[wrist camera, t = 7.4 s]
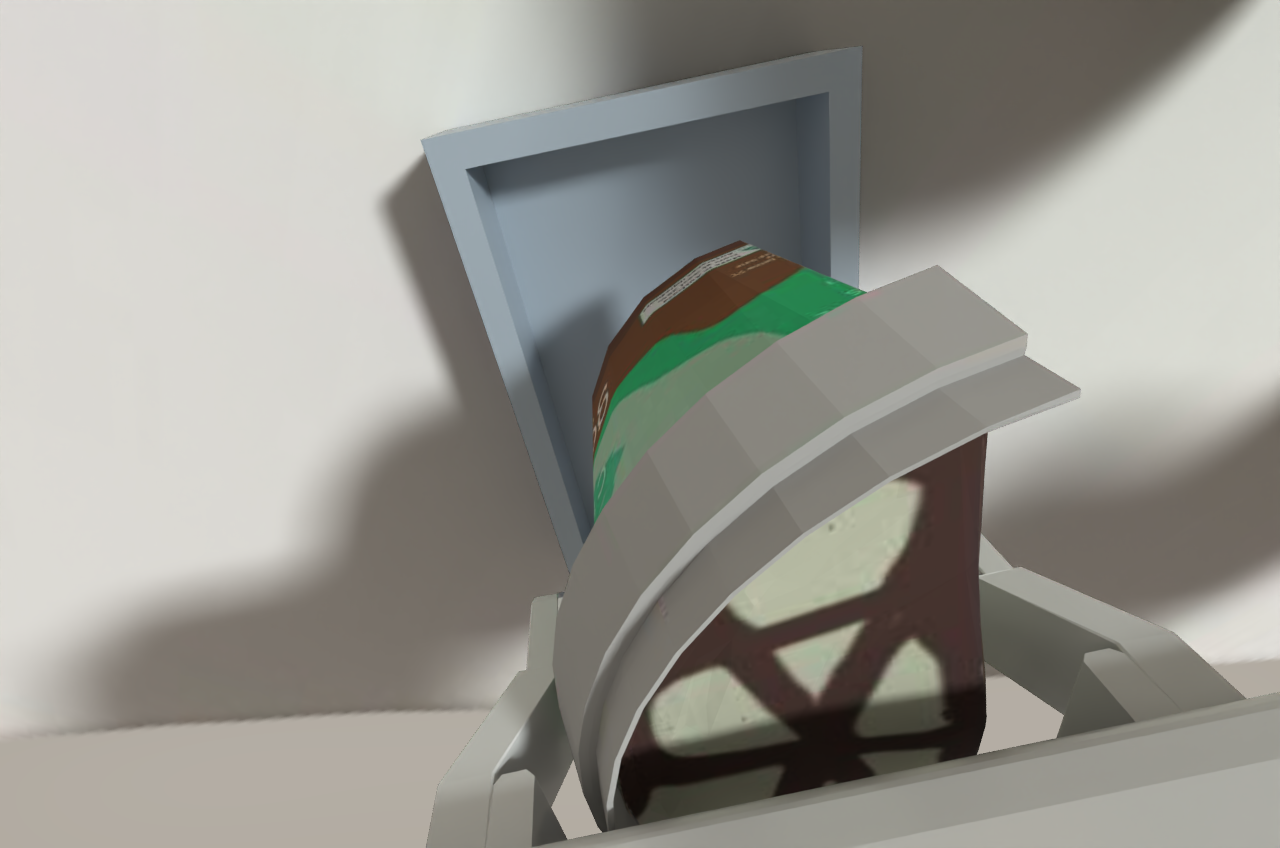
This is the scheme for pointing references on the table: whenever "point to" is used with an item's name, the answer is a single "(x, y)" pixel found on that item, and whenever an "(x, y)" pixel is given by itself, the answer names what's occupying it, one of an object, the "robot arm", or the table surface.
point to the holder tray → (638, 224)
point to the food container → (784, 535)
